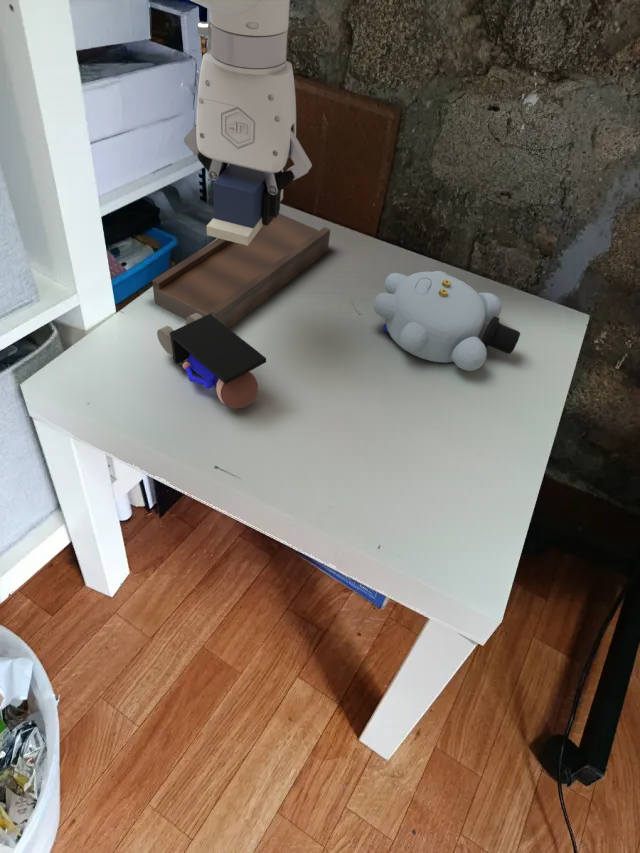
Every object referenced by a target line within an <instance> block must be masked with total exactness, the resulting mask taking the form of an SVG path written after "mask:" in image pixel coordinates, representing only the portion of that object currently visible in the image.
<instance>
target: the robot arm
mask: <svg viewBox="0 0 640 853" xmlns="http://www.w3.org/2000/svg"><path fill="white" fill-rule="evenodd" d="M189 1H191V2H192V3H195V4H198V5H200V6H202V7H204V8H206V9H208V10H209V19H208V20H207V21H206V22H205V21H199V22H198V24H197V36H198V37H199V38H204V39H205V40H207V41H208V50H209V51H207V52H206V53H204V54H203V55H202V59H201V65H200V70H199V71H200V72H199V78H198V88H197V101H196V124H195V125H194V126H193V127H192V128H191V130H190V131H189V132H188V133H187V134H186V136H185V137H184V138H183V143H184V144H185V146H186V147H187V148H188V149H189V150H190V151H191V152H192V153H193V154H194V155H196V157H197V160H198V161H199V162H200V163H201V165H202V166H203V167H204V168H205V170H206V171H207V172H208V174H207V175H208V177H209V179H210V180H211V181H212V183H213V182H214V181H215V180H216V179H217V178H218V177H219V176H220V175H221V174H222V173H223V172H224V171H225V169H226V168H227V167H228V166H229V165H230V164H233V165H237V166H241V167H245V168H250V169H254V170H258V171H263V173H264V177H265V182H266V186H267V188H266V191H265V192H264V193H263V197H262V223H263V225H266V226H268V225H269V223H270V222H271V221H272V219H273V218H274V217H277V216H278V214H279V213H280V211H281V202H280V197H281V189H282V190H284V189H285V187H287V186H289V185H290V184H291V183H292V182H293V181H295V180H297V179H299V178H301V177H303V176H305V175H307V174H308V173H309V172H310V171H311V169H312V168H313V164H312V162H311V160H310V159H309V157H308V155H307V154H306V152H305V150H304V148H303V146H302V145H301V143H300V141H299V140H298V138H297V98H296V86H295V77H294V69H293V65H292V62H290V61H287V58H288V42H289V40H288V39H289V37H288V36H289V21H290V2H291V0H189ZM289 159H290V160H291V161H292V163H293V165H292V166H289V167H288V168H286V169H285V170H284V168H285V166H286V165H287V162H288V160H289Z"/></svg>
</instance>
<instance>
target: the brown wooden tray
mask: <svg viewBox="0 0 640 853" xmlns="http://www.w3.org/2000/svg"><path fill="white" fill-rule="evenodd" d="M330 236H331V229H330V228H328V227H325V226H323V227H322V228H321V229H316V228H314V227H312V226H310V225H307V224H305V223H303V222H300V221H299V220H296V219H294V218H292V217H289V216H287V215H284V214H282V213H280V212H279V214H278V216H277V217H274V218H273V219H272V221H271V222H270V223H269V225H268V226H266V225H263V226H262V227H261V229H260V230H259V231H258V233H257V234H256V235H255V237H254V238H253V239H252V241H251V242H250V244H249V245H248V246H247V245H243V244H239V243H235V242H231V241H228V240H224V239H220V238H216V239H215V240H214V241H212V242H210V243H209V244H207V245H205V246H204V247H202V248H200V249H199V250H197V251H196V252H194V253H193V254H192V255H189V256H188V257H187V258H185V259H183V260H182V261H180V262H179V263H177V264H176V265H174V266H172V267H171V268H169V269H167V270H166V271H164V272H163V273H161V274H160V275H158V276H156V277H155V278H153V279H152V280H151V282H152V290H153V300H154V304H155V305H156V306H159V307H160V308H162V309H164V310H165V311H168V312H170V313H171V314H174V315H175V316H178V317H179V318H181V319H183V320H185V321H186V318H187V317H188V316H190V315H193V314H195V313H198V314H200V315H201V316H202V317H204V316H206V315H208V314H211V315H212V316H214V317H215V318H216V319H217V320H219V321H220V322H221V323H222V324H224V325H225V326H226V327H227V328H229V329H230V328H231V327H233V326H234V325H235V324H236V323H238V322H239V321H240V320H241V319H243V318H244V317H246V315H248V314H250V312H251V311H253V310H254V309H256V308H257V307H258V306H260V305H261V304H262V303H264V301H266V300H267V299H269V298H270V297H271V296H272V295H273V294H275V293H276V292H277V291H279V290H281V288H283V287H284V286H285V285H286V284H288V283H289V282H290V281H292V280H293V279H294V278H296V277H297V276H299V275H300V273H302V272H303V271H305V270H306V269H307V268H309V267H310V266H311V265H312V264H314V263H315V262H316V261H317V260H318V259H320V258H322V256H324V255H325V254H326V253H328V251H329V245H330Z"/></svg>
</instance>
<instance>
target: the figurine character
mask: <svg viewBox="0 0 640 853" xmlns="http://www.w3.org/2000/svg"><path fill="white" fill-rule="evenodd" d="M185 323H186V324H185V325H182V326H180V327H179V328H177V329H173V328H172V327H171V326H170V325H165V326H163V327H161V328H159V329H158V330H157V332H156V335H157V338H158V339H157V340H158V342H159V343H160V346H161V347H162V349H163V350H164V351H165V353H167V354H168V355H170V356H172V360H173V363H174V364H175V365H178V364H179V365H181V366H182V368H183V369H184V370H185V371H186V374H187V378H188V380H189V382H190V383H191V382H192V383H196V384H198V385H202V386H204V388H205V389H206V390H211V389H212V388H213V387H215V388H216V389H215V390H216V395H217V397H218V399H219V401H220V402H221V403H222V404H223V405H224V406H226V407H227V408H228V407H229V408H231V409H243V408H246V407H248V406H249V405H251V404H252V403H253V402H254V401H255V399H256V397H257V395H258V391H259V384H258V380H257V378H256V377H255V375H254V374H253V373H252V372H251V371H253V370H254V369H256V368H258V367H260V366H262V365H264V364H265V363H267V357H266V356H264V355H263V354H261V353H260V352H259V351H258V350H257V349H255V348H254V347H253V346H251V345H250V344H249V343H248V342H247V341H245V340H244V339H243V338H241V337H240V336H239V335H237V333H235V332H234V331H232V329H230V328H227V327H226V326H225V325H224V324H222V323H221V322H220V321H219V320H217V319H216V318H215V317H214V316H212V315H211V314H208V315H206V316H204V317H202V316H201V315H200V314H198V313H195V314H193V315H190V316H188V317H187V318H186V320H185ZM186 360H187V361H186ZM193 371H194V372H195V373H197V374H198V375H199V376H200V377H199V376H195V375H194V372H193Z"/></svg>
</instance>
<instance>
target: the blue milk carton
mask: <svg viewBox="0 0 640 853" xmlns="http://www.w3.org/2000/svg"><path fill="white" fill-rule="evenodd" d="M266 188H267V186H266V182H265V177H264V173H263V171H258V170H254V169H250V168H245V167H241V166H237V165H233V164H228V167H227V168H226V169H225V171H224V172H223V173H222V174H221V175H220V176H219V177H218V178H217V179H216V180H215V181H214V182H213V181H212V198H213V200H212V202H213V218H212V219H211V220H210V221H209V222H208V223H207V225H206V236H209V237H212V238H216V239H218V238H220V239H224V240H228V241H231V242H235V243H239V244H243V245H247V246H248V245H249V244H250V242H251V241H252V239H253V238H254V237H255V235H256V234H257V233H258V231H259V230H260V229H261V227H262V226H263V223H262V197H263V193H264V192H265V191H266ZM283 199H284V189H281V197H280V203H281V202H282V201H283Z"/></svg>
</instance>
